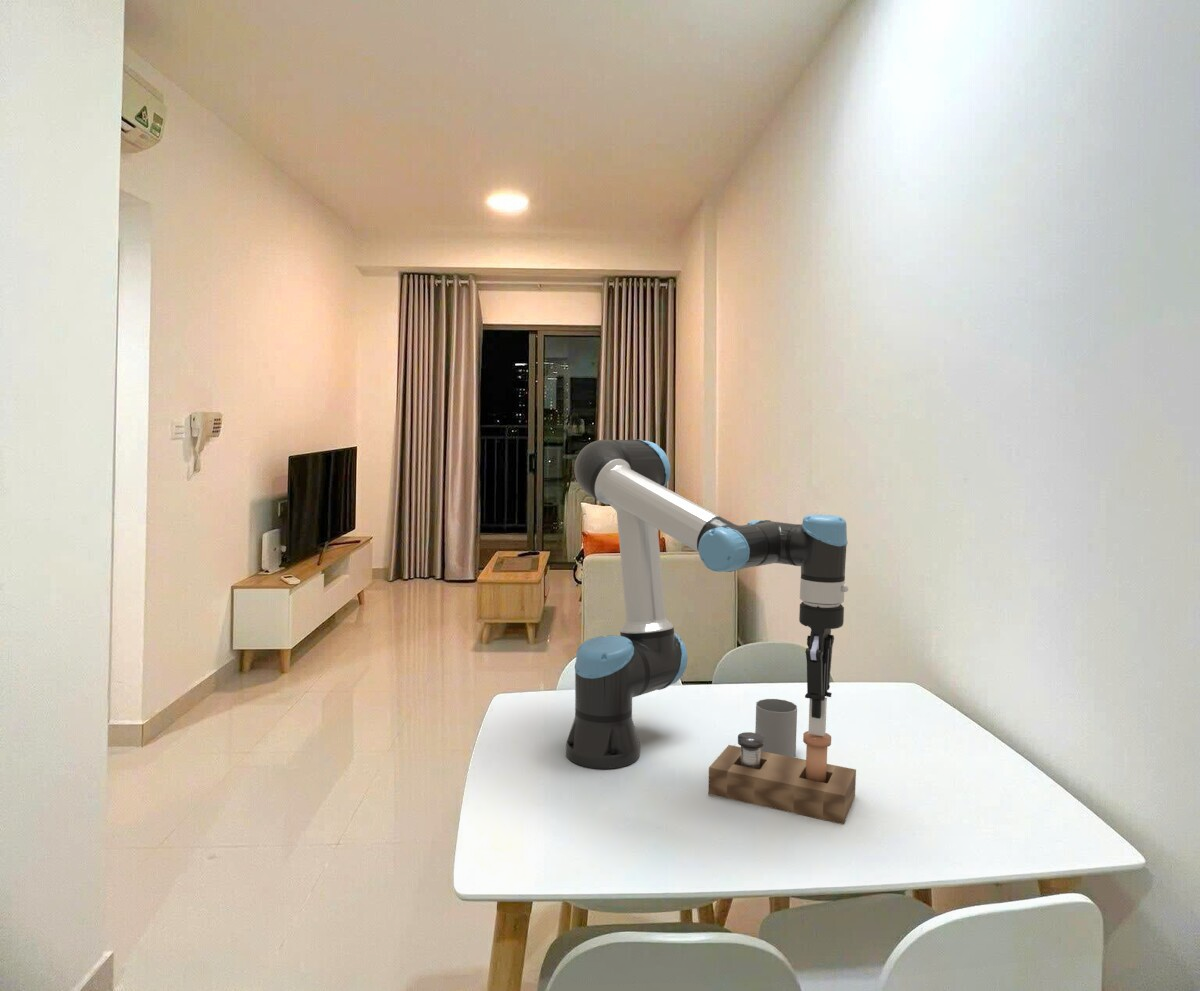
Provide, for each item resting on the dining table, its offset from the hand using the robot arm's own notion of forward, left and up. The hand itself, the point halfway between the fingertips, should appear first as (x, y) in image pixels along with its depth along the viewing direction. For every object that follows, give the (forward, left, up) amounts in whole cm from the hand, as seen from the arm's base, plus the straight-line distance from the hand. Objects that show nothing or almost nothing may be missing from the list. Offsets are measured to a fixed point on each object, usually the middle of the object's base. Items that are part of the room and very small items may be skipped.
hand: (816, 733), depth 140 cm
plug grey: (-12, 0, -12) cm, 17 cm away
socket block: (-6, 0, -13) cm, 14 cm away
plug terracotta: (0, 0, -9) cm, 9 cm away
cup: (-12, +19, -13) cm, 26 cm away
